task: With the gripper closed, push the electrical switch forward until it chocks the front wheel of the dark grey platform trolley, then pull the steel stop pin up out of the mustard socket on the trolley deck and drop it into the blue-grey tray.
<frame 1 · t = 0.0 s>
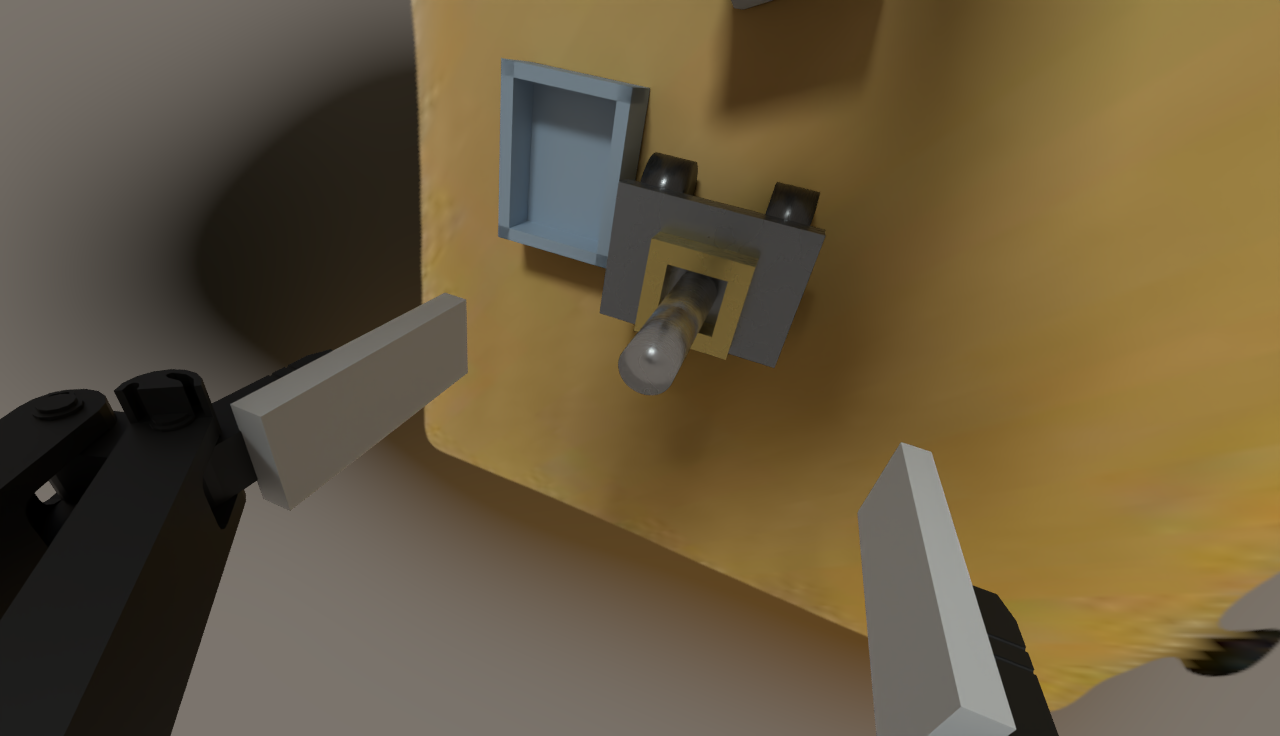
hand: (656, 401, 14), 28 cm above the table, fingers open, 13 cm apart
trolley: (720, 240, 39), on the table
pin: (696, 291, 35), point 7 cm above the table, touching trolley
tray: (579, 164, 40), on the table
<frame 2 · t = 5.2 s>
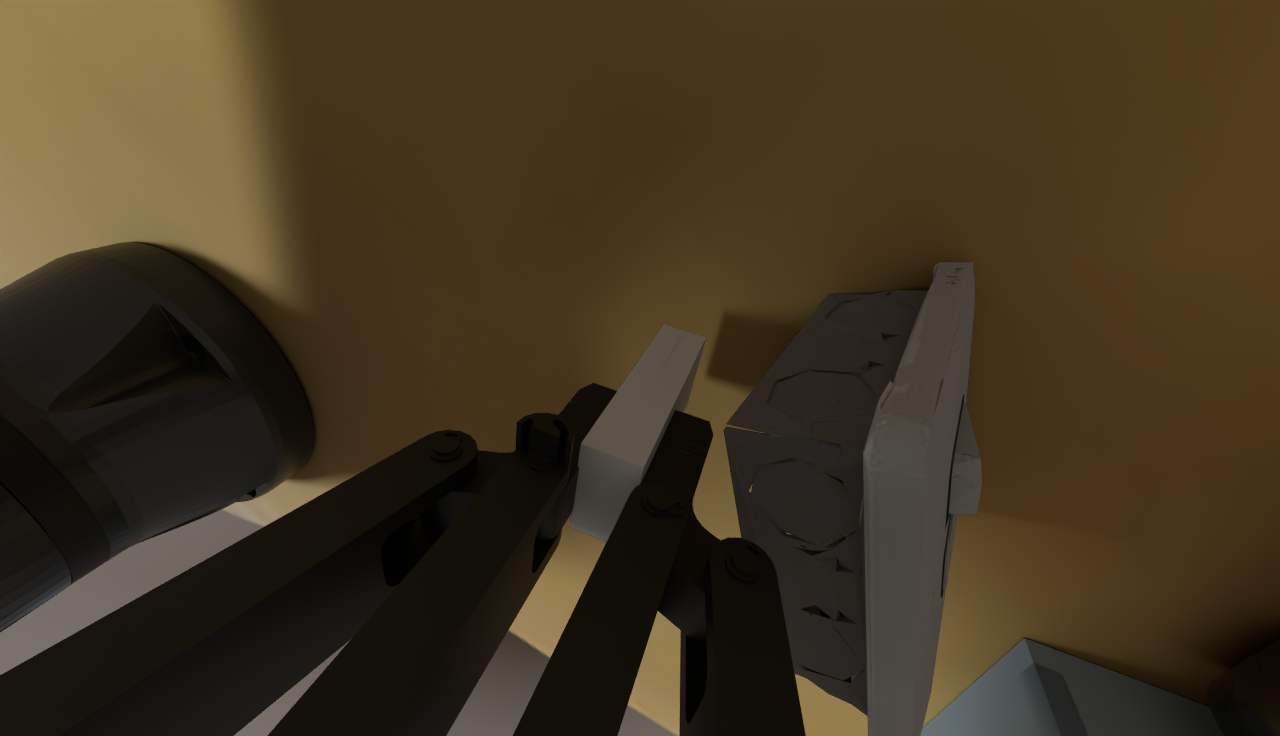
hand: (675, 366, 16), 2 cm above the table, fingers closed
electrical switch: (866, 399, 17), on the table, touching gripper
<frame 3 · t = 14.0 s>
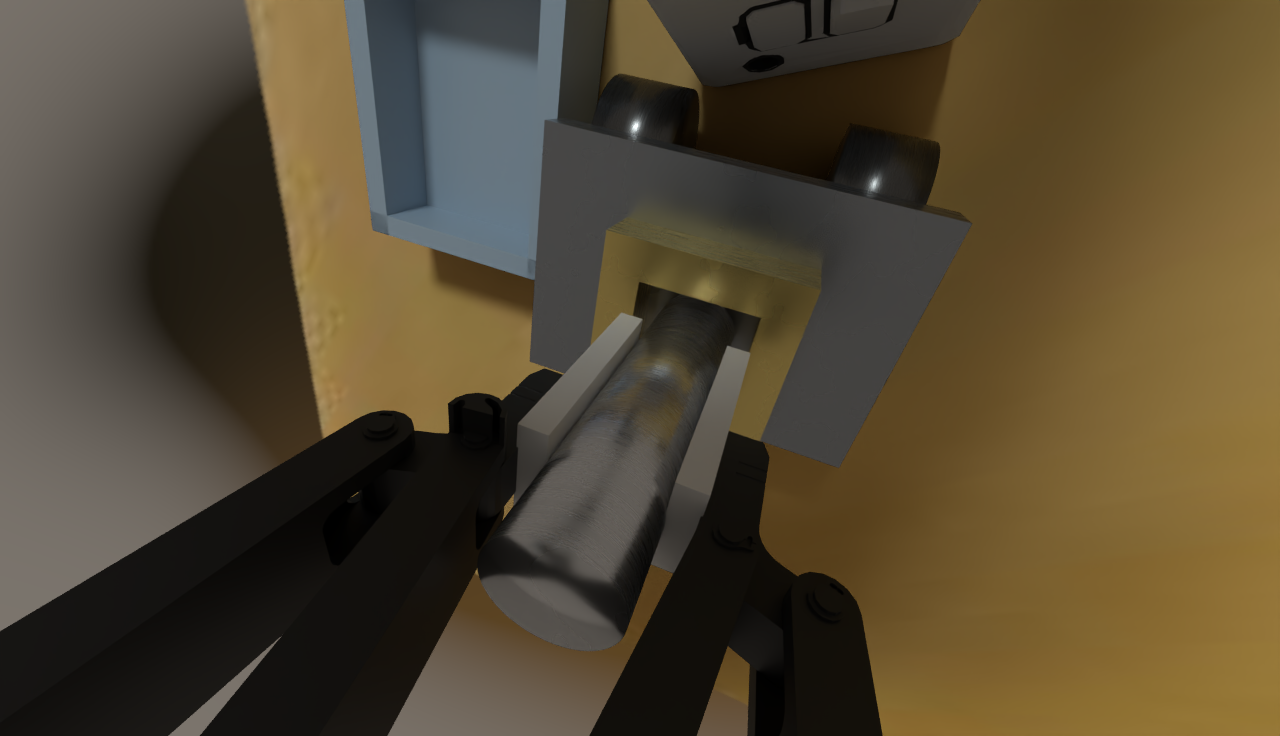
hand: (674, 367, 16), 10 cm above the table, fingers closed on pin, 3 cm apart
trolley: (737, 236, 23), on the table
pin: (695, 329, 19), point 7 cm above the table, touching gripper, trolley
tray: (502, 109, 24), on the table
when the fingers open (6 cm above the table, at t = 20.2 s): pin drops 1 cm, resting on tray.
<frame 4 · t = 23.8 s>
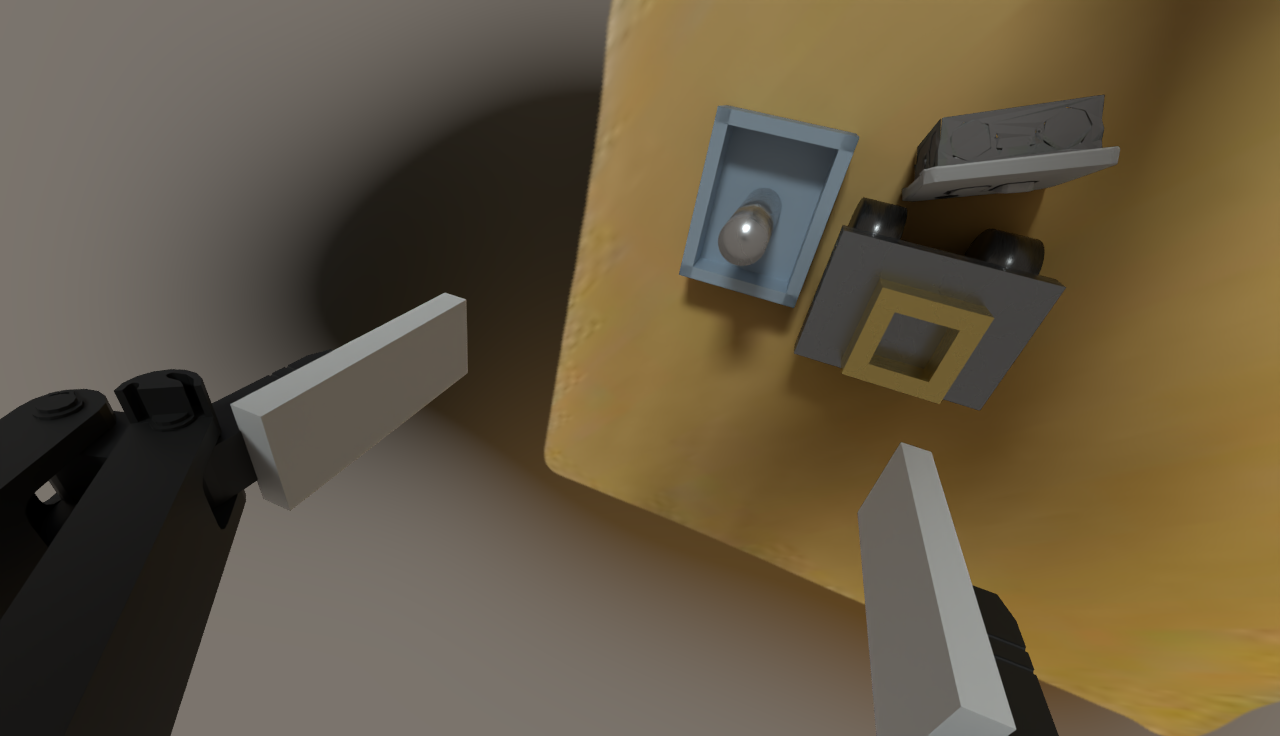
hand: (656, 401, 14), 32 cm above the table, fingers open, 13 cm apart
trolley: (906, 280, 40), on the table
electrical switch: (971, 155, 35), on the table
pin: (762, 206, 40), point 1 cm above the table, touching tray
tray: (763, 204, 41), on the table
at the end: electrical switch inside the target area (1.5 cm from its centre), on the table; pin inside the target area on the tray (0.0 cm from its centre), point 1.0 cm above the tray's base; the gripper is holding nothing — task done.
